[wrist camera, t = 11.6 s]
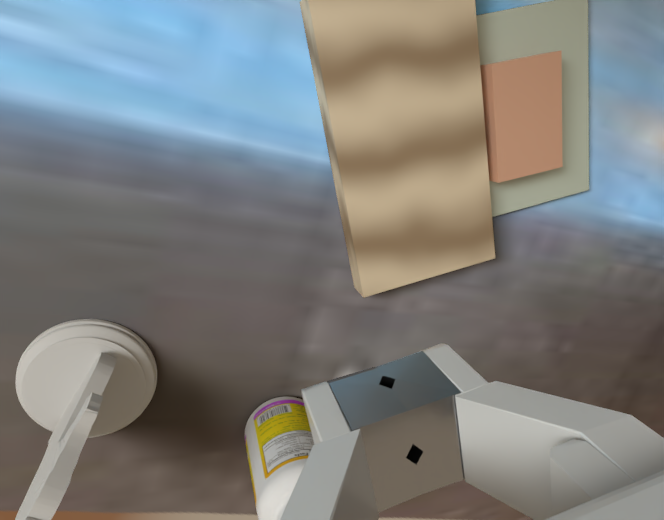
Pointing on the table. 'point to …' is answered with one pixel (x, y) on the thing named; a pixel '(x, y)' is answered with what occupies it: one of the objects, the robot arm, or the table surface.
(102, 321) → the chess piece
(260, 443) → the supplement bottle
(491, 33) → the mat
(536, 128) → the tile
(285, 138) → the table surface
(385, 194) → the beige flat block
